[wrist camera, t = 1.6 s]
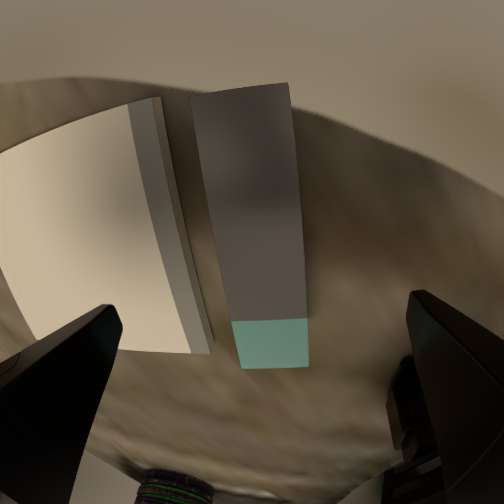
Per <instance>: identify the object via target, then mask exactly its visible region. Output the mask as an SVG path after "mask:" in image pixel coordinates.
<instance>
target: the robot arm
mask: <svg viewBox="0 0 504 504" xmlns="http://www.w3.org/2000/svg"><path fill="white" fill-rule="evenodd" d="M406 323H407V327H408V332H409V336H410V341H411V346H412V351H413V356H414V357H408V358H405V359H404V360H402V361H401V363H400V367H399V371H398V374H397V378H396V382H395V383H394V384H393V385H392V387H391V390H390V393H389V397H388V400H387V403H386V409H387V415H388V419H389V424H390V430H391V435H392V440H393V446H394V449H395V450H396V451H400V450H402V453H403V459H404V464H403V465H401V466H398V467H396V468H391V469H388V470H386V471H385V473H384V483H383V491H382V500H381V504H504V340H503V339H501V338H500V337H498V336H497V335H495V334H494V333H492V332H491V331H489V330H488V329H486V328H485V327H483V326H481V325H480V324H478V323H477V322H475V321H474V320H472V319H471V318H469V317H468V316H466V315H464V314H463V313H461V312H460V311H458V310H456V309H455V308H453V307H452V306H450V305H449V304H447V303H445V302H444V301H442V300H440V299H439V298H437V297H436V296H434V295H432V294H431V293H429V292H427V291H426V290H423V289H422V290H413V291H411V292H410V295H409V300H408V306H407V312H406ZM122 332H123V325H122V322H121V320H120V317H119V315H118V312H117V310H116V308H115V306H114V305H112V304H101V305H99V306H98V307H96V308H94V309H92V310H91V311H89V312H87V313H85V314H84V315H82V316H80V317H78V318H77V319H75V320H73V321H71V322H70V323H68V324H66V325H64V326H63V327H61V328H59V329H58V330H56V331H54V332H52V333H51V334H49V335H47V336H46V337H44V338H42V339H40V340H39V341H37V342H35V343H34V344H32V345H30V346H29V347H27V348H25V349H24V350H22V351H21V352H18V353H17V354H15V355H13V356H12V357H10V358H8V359H7V360H5V361H3V362H1V363H0V504H69V500H70V497H71V493H72V489H73V486H74V482H75V479H76V475H77V471H78V468H79V464H80V461H81V457H82V455H83V451H84V448H85V445H86V442H87V439H88V436H89V433H90V430H91V427H92V424H93V421H94V418H95V415H96V412H97V409H98V406H99V403H100V401H101V398H102V395H103V392H104V390H105V387H106V384H107V381H108V379H109V376H110V373H111V371H112V367H113V364H114V360H115V357H116V353H117V350H118V346H119V343H120V339H121V336H122Z"/></svg>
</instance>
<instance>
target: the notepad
mask: <svg viewBox="0 0 504 504" xmlns="http://www.w3.org/2000/svg"><path fill="white" fill-rule="evenodd" d="M0 267H1V270H2V272H3V274H4V277H5V279H6V281H7V283H8V285H9V288H10V290H11V292H12V294H13V296H14V298H15V300H16V302H17V304H18V306H19V308H20V310H21V312H22V314H23V316H24V318H25V320H26V322H27V324H28V325H29V327H30V329H31V331H32V333H33V334H34V336H35V338H36V339H38V340H40V339H42V338H44V337H46V336H47V335H49V334H51V333H52V332H54V331H56V330H58V329H59V328H61V327H63V326H64V325H66V324H68V323H70V322H71V321H73V320H75V319H77V318H78V317H80V316H82V315H84V314H85V313H87V312H89V311H91V310H92V309H94V308H96V307H98V306H99V305H101V304H112V305H114V306H115V308H116V310H117V312H118V315H119V317H120V320H121V322H122V325H123V332H122V336H121V339H120V343H119V346H118V349H124V350H137V351H152V352H172V353H191V354H211V351H212V348H213V345H214V340H213V336H212V333H211V329H210V325H209V321H208V318H207V314H206V310H205V306H204V302H203V298H202V295H201V291H200V287H199V283H198V279H197V274H196V270H195V266H194V262H193V258H192V254H191V249H190V245H189V241H188V236H187V232H186V227H185V223H184V218H183V214H182V209H181V204H180V199H179V195H178V190H177V185H176V180H175V175H174V170H173V165H172V159H171V154H170V149H169V143H168V138H167V132H166V126H165V121H164V115H163V109H162V103H161V97H151V98H147V99H143V100H139V101H136V102H132V103H129V104H125V105H122V106H119V107H115V108H112V109H109V110H106V111H103V112H100V113H97V114H94V115H91V116H88V117H85V118H82V119H79V120H77V121H74V122H71V123H69V124H66V125H63V126H61V127H58V128H56V129H53V130H51V131H48V132H46V133H44V134H41V135H39V136H37V137H34V138H32V139H30V140H28V141H25V142H23V143H21V144H19V145H17V146H15V147H13V148H10V149H8V150H6V151H4V152H2V153H0Z"/></svg>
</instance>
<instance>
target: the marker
mask: <svg viewBox="0 0 504 504" xmlns="http://www.w3.org/2000/svg"><path fill="white" fill-rule="evenodd" d="M190 103H191V109H192V116H193V122H194V128H195V134H196V140H197V146H198V152H199V158H200V164H201V170H202V175H203V181H204V186H205V192H206V197H207V203H208V208H209V214H210V219H211V224H212V230H213V235H214V240H215V245H216V250H217V255H218V260H219V265H220V270H221V275H222V280H223V285H224V290H225V295H226V299H227V304H228V309H229V313H230V318H231V323H232V327H233V332H234V337H235V341H236V346H237V350H238V354H239V359H240V363H241V368H242V369H254V368H292V367H309V359H308V322H307V296H306V275H305V257H304V241H303V227H302V213H301V200H300V188H299V177H298V166H297V156H296V146H295V136H294V127H293V118H292V110H291V101H290V94H289V86H288V83H278V84H268V85H259V86H251V87H243V88H237V89H230V90H223V91H217V92H211V93H205V94H200V95H195V96H190Z"/></svg>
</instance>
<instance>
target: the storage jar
mask: <svg viewBox="0 0 504 504" xmlns="http://www.w3.org/2000/svg"><path fill="white" fill-rule="evenodd" d="M214 493H215V489H214V488H213V487H212V486H211V485H210V484H208V483H206V482H204V481H202V480H200V479H197V478H195V477H192V476H189V475H186V474H183V473H179V472H175V471H170V470H164V469H148V470H146V471H145V473H144V480H142V482H141V486H139V489H138V492H137V495H138V496H137V497H136V500H135V503H134V504H212V503H213V500H212V497H213V496H214Z"/></svg>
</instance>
